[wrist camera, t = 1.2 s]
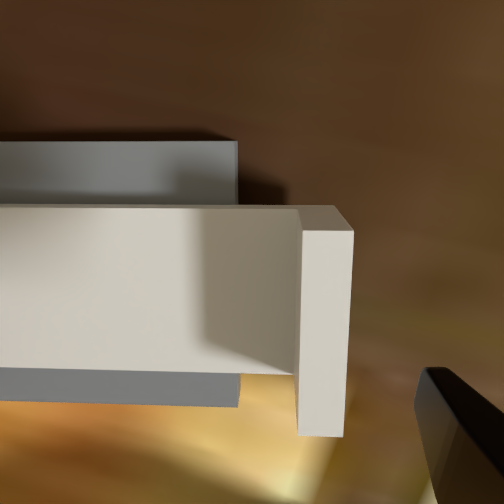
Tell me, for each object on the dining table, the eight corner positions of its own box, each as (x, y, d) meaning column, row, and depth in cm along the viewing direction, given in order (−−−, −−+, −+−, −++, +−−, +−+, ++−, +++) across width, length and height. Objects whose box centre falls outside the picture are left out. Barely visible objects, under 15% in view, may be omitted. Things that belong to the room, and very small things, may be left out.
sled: (327, 363, 20) (342, 437, 15) (-190, 351, 21) (-327, 415, 16) (334, 205, 18) (353, 230, 13) (-230, 202, 20) (-397, 225, 15)
